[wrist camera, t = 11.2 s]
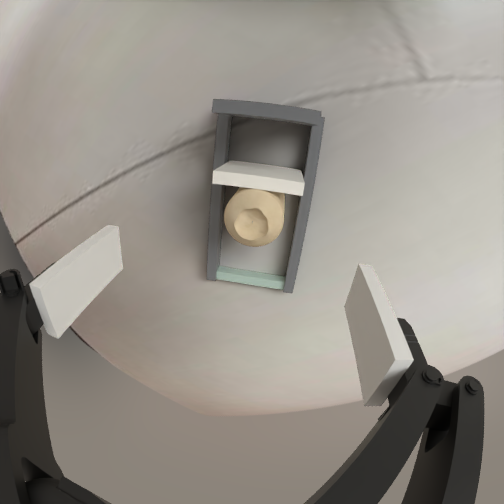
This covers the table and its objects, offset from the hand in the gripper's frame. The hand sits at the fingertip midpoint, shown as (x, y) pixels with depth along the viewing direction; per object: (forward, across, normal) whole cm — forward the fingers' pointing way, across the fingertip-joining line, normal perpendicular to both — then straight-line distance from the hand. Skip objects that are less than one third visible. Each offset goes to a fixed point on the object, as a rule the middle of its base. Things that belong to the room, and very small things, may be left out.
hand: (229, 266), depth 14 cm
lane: (+20, 0, -2) cm, 20 cm away
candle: (+20, 0, -2) cm, 20 cm away
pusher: (+20, 0, +1) cm, 20 cm away
